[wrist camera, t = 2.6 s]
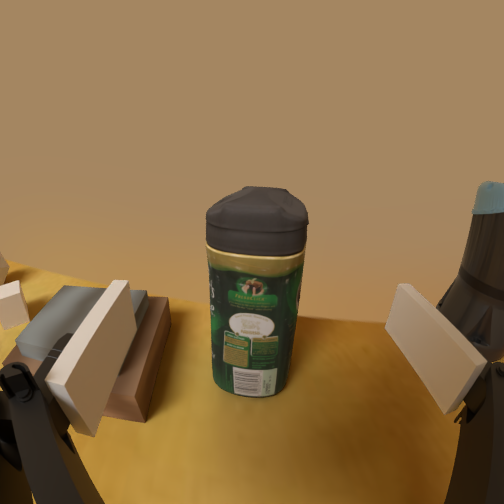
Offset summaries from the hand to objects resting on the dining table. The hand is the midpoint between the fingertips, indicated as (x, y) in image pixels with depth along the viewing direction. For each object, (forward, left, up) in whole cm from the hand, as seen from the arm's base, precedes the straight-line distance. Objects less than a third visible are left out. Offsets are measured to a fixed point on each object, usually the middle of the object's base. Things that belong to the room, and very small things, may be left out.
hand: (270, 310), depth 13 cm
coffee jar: (0, -11, -15) cm, 19 cm away
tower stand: (+18, -11, -15) cm, 25 cm away
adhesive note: (+36, -16, -15) cm, 42 cm away
